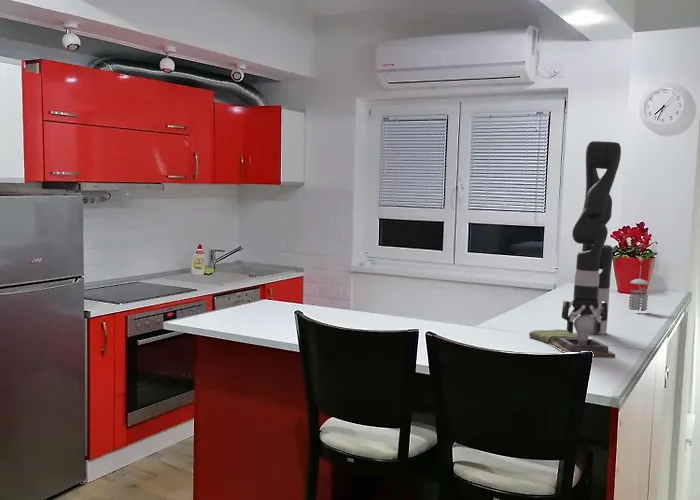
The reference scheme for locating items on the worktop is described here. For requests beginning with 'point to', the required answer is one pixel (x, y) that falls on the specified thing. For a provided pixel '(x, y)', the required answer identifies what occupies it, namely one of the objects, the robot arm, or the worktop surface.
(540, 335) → the washcloth
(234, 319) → the worktop surface
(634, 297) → the french press
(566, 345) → the socket stand
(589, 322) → the lightbulb
